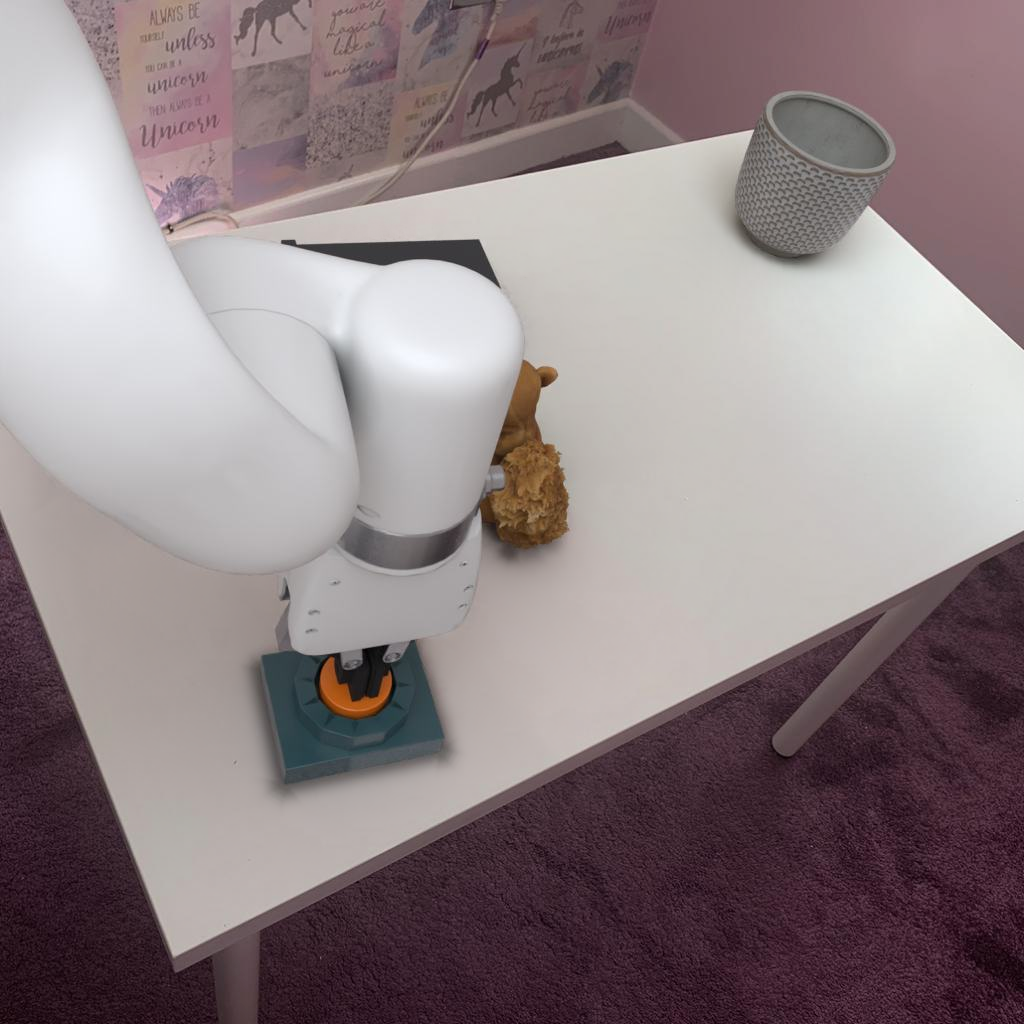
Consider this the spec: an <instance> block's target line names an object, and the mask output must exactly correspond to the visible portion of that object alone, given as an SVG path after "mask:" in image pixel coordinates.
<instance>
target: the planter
mask: <svg viewBox="0 0 1024 1024" xmlns="http://www.w3.org/2000/svg"><path fill="white" fill-rule="evenodd" d="M896 160H897V148H896V145H895V143H894V140H893V138H892V137H891V136H890V134H889V133H888V131H887V130H886V129H885V128H884V127H883V126H882V125H881V124H880V123H879V122H878V121H877V120H876V119H874V118H873V117H872V116H870V115H869V114H868V113H866V112H864V111H863V110H861V109H860V108H858V107H856V106H854V105H853V104H850V103H848V102H846V101H844V100H841V99H839V98H837V97H833V96H830V95H828V94H824V93H820V92H815V91H809V90H788V91H783V92H780V93H777V94H775V95H773V96H771V97H770V98H769V99H768V100H767V102H766V103H765V105H764V106H763V108H762V109H761V111H760V114H759V117H758V119H757V121H756V124H755V126H754V129H753V132H752V134H751V137H750V140H749V143H748V145H747V148H746V150H745V153H744V156H743V160H742V163H741V166H740V169H739V172H738V175H737V179H736V184H735V191H734V205H735V208H736V209H735V210H736V212H737V214H738V215H737V216H738V217H739V219H740V220H741V222H742V223H743V225H744V227H745V230H746V233H747V235H748V237H749V239H750V240H751V241H752V242H753V243H754V244H755V245H756V246H758V248H760V249H761V250H763V251H765V252H767V253H769V254H771V255H773V256H777V257H780V258H790V259H792V258H798V257H801V256H803V255H810V254H816V253H822V252H823V251H826V250H829V249H831V248H832V247H834V246H835V245H836V244H838V243H839V242H841V240H842V239H843V238H844V237H845V236H846V235H847V234H848V233H849V232H850V230H852V228H853V227H854V225H855V224H856V223H857V221H858V220H859V219H860V217H861V216H862V215H863V213H864V212H865V211H866V210H867V207H868V206H869V205H870V203H871V202H872V200H873V199H874V197H875V195H876V194H877V193H878V191H880V188H881V187H882V185H883V184H884V183H885V181H886V179H887V178H888V176H889V175H890V173H891V172H892V169H893V167H894V165H895V163H896Z"/></svg>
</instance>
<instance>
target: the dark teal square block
mask: <svg viewBox="0 0 1024 1024" xmlns="http://www.w3.org/2000/svg"><path fill="white" fill-rule="evenodd" d="M329 658H330V656H327V655H305V654H302V653H299V652H297V651H279V652H274V653H267V654H262V655H261V658H260V669H259V673H260V678H261V683H262V687H263V692H264V697H265V701H266V702H265V703H266V706H267V711H268V716H269V721H270V727H271V731H272V734H273V741H274V745H275V749H276V754H277V758H278V759H277V760H278V764H279V768H280V773H281V777H282V782H283V785H285V786H286V785H291V784H294V783H299V782H304V781H309V780H313V779H318V778H323V777H328V776H333V775H337V774H341V773H346V772H351V771H355V770H356V771H357V770H360V769H365V768H370V767H375V766H379V765H383V764H389V763H393V762H394V763H395V762H398V761H404V760H409V759H413V758H416V757H422V756H427V755H431V754H436V753H440V751H441V747H442V745H443V743H444V740H445V733H444V731H443V727H442V724H441V721H440V718H439V715H438V710H437V707H436V704H435V701H434V697H433V695H432V692H431V691H432V690H431V688H430V685H429V681H428V679H427V675H426V671H425V668H424V665H423V661H422V658H421V656H420V652H419V648H418V645H417V642H416V640H414V641H413V642H411V643H410V644H409V645H408V646H407V648H406V650H405V652H404V654H403V656H402V657H401V658H400V659H399V660H397V661H395V662H391V666H390V672H391V676H392V686H391V690H390V694H389V697H388V701H387V704H386V706H385V707H384V709H383V710H382V711H381V712H380V713H378V714H377V715H376V716H373V717H368V718H363V719H357V720H353V719H349V718H346V717H343V716H339V715H336V714H333V713H332V712H331V711H330V710H329V709H328V708H327V707H326V706H325V705H324V704H323V703H322V702H321V701H320V699H319V695H318V688H319V681H320V675H321V671H322V668H323V666H324V664H325V663H326V661H327V660H328V659H329Z"/></svg>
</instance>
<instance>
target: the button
mask: <svg viewBox="0 0 1024 1024" xmlns="http://www.w3.org/2000/svg"><path fill="white" fill-rule="evenodd" d="M334 659H335V658H333V657H330V658H329V659H328V660H327V661H326V663H325V664H324V666H323V668H322V671H321V675H320V681H319V688H318V695H319V699H320V701H321V702H322V703H323V704H324V705H325V706H326V707H327V708H328V709H329V710H330V711H331V712H332V713H333V714H336V715H339V716H343V717H346V718H349V719H353V720H357V719H363V718H368V717H373V716H376V715H377V714H378V713H380V712H381V711H382V710H383V709H384V707H385V706H386V704H387V701H388V697H389V694H390V690H391V686H392V676H391V672H390V670H389V673H388V676H385V677H383V679H382V683H381V687H380V691H379V695H378V697H375V698H370V699H369V697H366V696H365V694H364V697H363V698H361V700H359V701H354V702H352V700H351V696H350V693H349V689H348V685H347V683H346V684H341V685H339V684H338V681H337V678H336V674H335V668H334Z"/></svg>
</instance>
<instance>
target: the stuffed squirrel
mask: <svg viewBox="0 0 1024 1024" xmlns="http://www.w3.org/2000/svg"><path fill="white" fill-rule="evenodd" d="M558 377H559V373H558V370H557V369H556V368H555V367H553V366H549V365H546V366H545V365H542V366H540V367H538V368H535V366H533V364H531V362H529V361H528V360H526V359H524V358H523V361H522V365H521V369H520V373H519V376H518V379H517V382H516V386H515V389H514V392H513V395H512V398H511V401H510V404H509V408H508V411H507V414H506V417H505V420H504V423H503V426H502V430H501V433H500V436H499V439H498V442H497V445H496V448H495V452H494V455H493V458H492V461H491V464H490V466H493V465H501V466H502V468H503V470H504V474H505V488H504V490H503V491H497V492H491V494H490V495H487V496H486V498H484V499H482V501H481V504H480V511H481V521H482V522H486V523H493V524H495V529H496V533H497V536H498V537H499V539H500V540H501V542H504V541H506V542H508V544H509V546H510V547H514V548H521V549H522V550H528V549H529V550H530V548H533V547H538V546H539V545H548V544H550V543H552V542H553V541H555V540H556V539H559V538H561V539H562V536H564V534H565V533H567V532H569V531H570V527H568V526H569V525H568V522H567V518H568V511H567V510H568V508H569V506H570V502H569V499H570V497H569V495H570V493H569V492H568V491H567V488H566V486H565V485H564V482H565V481H566V480H567V479H566V475H565V474H564V470H565V467H560V466H559V463H561V459H562V456H560V455H563V453H562V452H561V451H557V449H556V446H555V444H554V443H553V444H551V443H545V444H544V442H543V439H542V432H541V429H540V427H539V426H540V425H539V424H538V421H537V419H536V413H537V407H538V406H537V405H538V404H539V400H540V396H541V392H542V391H541V390H542V389H543V388H546V387H549V385H552V383H554V382H555V381H556V380H557V378H558ZM556 451H557V452H556Z"/></svg>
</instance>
